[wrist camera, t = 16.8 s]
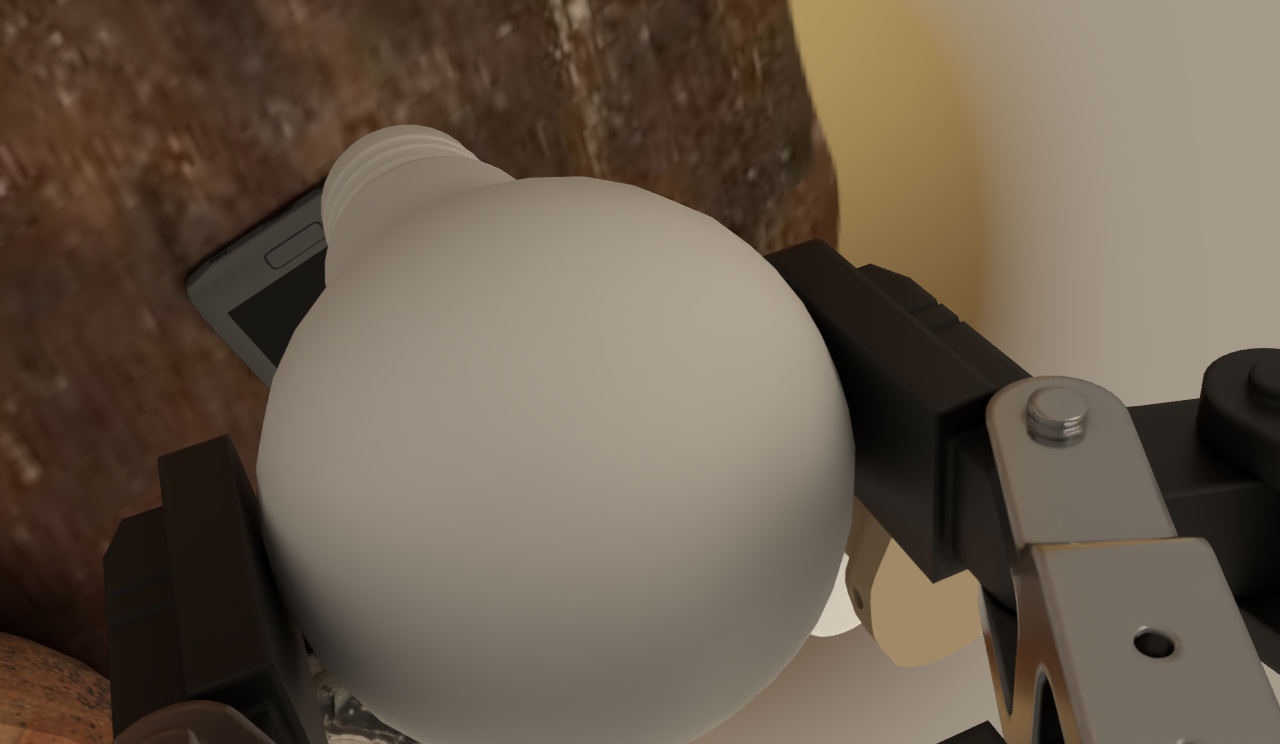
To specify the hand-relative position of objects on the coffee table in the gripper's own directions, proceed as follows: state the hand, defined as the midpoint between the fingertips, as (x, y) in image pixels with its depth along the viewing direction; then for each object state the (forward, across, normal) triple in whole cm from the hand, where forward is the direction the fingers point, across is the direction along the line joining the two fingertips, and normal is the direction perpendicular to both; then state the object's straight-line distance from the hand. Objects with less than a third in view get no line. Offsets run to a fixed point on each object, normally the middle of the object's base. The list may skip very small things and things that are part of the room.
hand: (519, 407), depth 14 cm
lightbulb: (+7, 0, 0) cm, 7 cm away
